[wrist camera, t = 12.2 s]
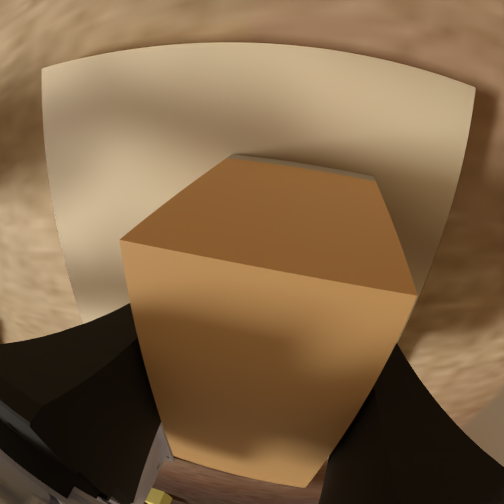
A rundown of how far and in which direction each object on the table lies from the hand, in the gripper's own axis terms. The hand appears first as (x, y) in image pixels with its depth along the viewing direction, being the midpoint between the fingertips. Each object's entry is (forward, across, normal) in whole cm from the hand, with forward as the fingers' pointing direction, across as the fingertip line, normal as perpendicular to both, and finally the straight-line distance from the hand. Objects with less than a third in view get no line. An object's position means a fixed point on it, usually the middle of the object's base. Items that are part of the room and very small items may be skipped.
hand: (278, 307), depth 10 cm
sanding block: (+2, 0, 0) cm, 2 cm away
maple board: (+3, +3, +3) cm, 5 cm away
